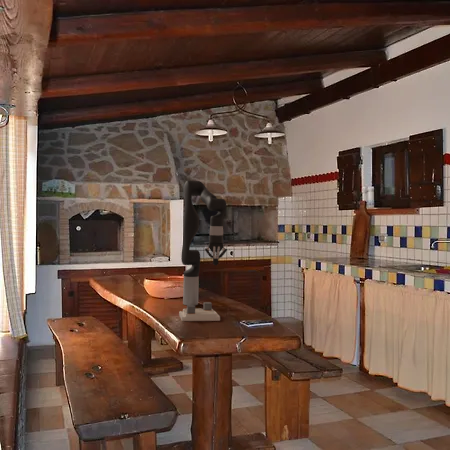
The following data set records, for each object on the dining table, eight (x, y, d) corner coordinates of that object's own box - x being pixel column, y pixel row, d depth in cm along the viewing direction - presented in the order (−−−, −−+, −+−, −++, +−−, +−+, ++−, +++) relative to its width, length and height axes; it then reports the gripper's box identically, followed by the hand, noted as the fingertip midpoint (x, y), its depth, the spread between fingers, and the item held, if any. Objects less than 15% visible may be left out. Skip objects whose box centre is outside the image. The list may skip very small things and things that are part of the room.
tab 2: (203, 311, 300) (203, 302, 300) (210, 311, 301) (210, 302, 301) (204, 312, 296) (204, 303, 296) (211, 312, 297) (211, 303, 297)
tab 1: (186, 314, 290) (186, 305, 290) (194, 314, 290) (194, 305, 290) (187, 316, 286) (187, 306, 286) (195, 316, 286) (195, 306, 286)
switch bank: (179, 314, 300) (179, 308, 299) (215, 314, 303) (215, 308, 303) (181, 321, 284) (182, 314, 284) (220, 320, 287) (220, 313, 287)
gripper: (226, 234, 310) (225, 264, 311) (203, 233, 308) (202, 264, 309) (229, 234, 303) (228, 266, 304) (205, 234, 301) (204, 265, 301)
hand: (215, 265), depth 306 cm, fingers closed
